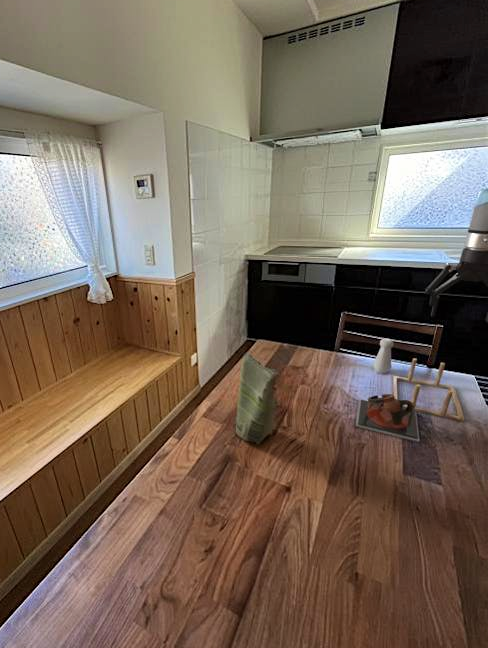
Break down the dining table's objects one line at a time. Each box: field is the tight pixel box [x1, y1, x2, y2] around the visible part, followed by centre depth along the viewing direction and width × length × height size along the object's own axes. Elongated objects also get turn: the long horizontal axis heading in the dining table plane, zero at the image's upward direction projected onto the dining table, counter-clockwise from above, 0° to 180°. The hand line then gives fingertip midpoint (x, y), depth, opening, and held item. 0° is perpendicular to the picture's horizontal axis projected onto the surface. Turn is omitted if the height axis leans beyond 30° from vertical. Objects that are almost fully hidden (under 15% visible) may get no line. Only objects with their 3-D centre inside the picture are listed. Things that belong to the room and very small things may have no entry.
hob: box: [355, 399, 421, 443], centre depth 102 cm, size 16×14×1 cm
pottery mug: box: [367, 393, 414, 426], centre depth 101 cm, size 12×10×8 cm
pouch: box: [235, 352, 279, 445], centre depth 95 cm, size 11×12×25 cm
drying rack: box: [392, 357, 465, 422], centre depth 110 cm, size 18×19×9 cm
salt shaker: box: [373, 338, 395, 375], centre depth 125 cm, size 6×6×13 cm
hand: (459, 318), depth 103 cm, fingers open, 13 cm apart
